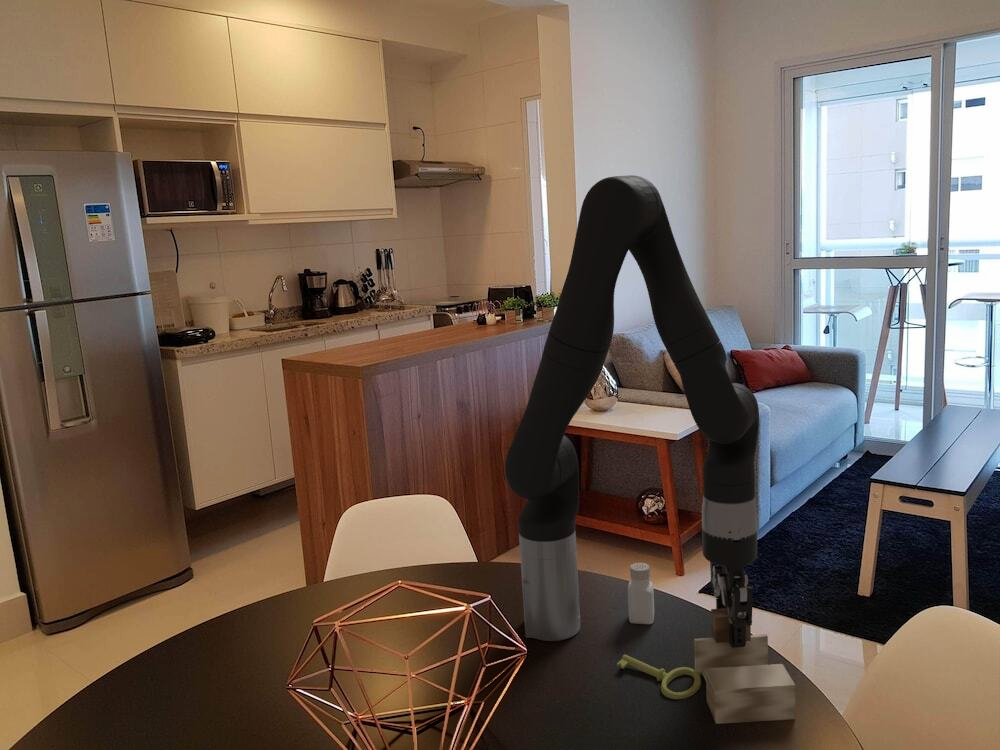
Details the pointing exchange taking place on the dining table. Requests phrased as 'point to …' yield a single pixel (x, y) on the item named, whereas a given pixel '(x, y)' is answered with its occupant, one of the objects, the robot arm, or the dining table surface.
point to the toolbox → (750, 693)
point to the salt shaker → (640, 595)
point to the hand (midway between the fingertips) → (730, 633)
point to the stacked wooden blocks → (728, 647)
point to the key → (664, 676)
